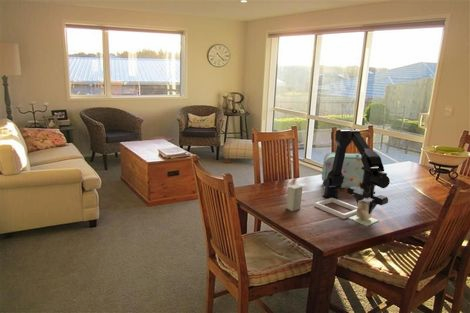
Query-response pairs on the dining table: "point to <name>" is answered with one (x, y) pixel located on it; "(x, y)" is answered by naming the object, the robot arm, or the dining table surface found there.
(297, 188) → the skincare box
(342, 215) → the white rectangular frame
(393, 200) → the dining table surface
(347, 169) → the lunch box
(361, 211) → the birch parts box
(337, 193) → the robot arm
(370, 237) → the dining table surface
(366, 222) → the sage pad
